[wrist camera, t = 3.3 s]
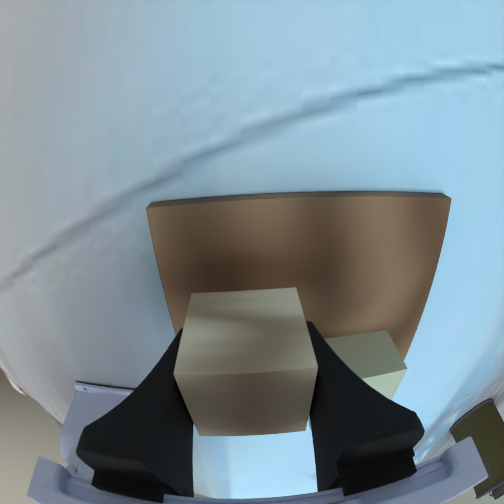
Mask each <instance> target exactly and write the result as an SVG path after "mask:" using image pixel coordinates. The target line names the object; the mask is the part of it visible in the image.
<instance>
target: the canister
mask: <svg viewBox="0 0 504 504" xmlns="http://www.w3.org/2000/svg"><path fill="white" fill-rule="evenodd" d="M450 433H452V435H453V437H454V439H455V442H456V443H458V442H460V441H462V440H464V439H466V438H468V437H472V439H473V441H474V444H475V446H476V448H477V450H478V453H479V455H480V457H481V460H482V462H483V464H484V467H485V469H486V472H487V474H488V477H487V478H486V479H485V480H483V481H482V482H480V483H479V484H477V485H476V486H474V490H475V493H476V496H477V497H476V499H478V498H480V497H482V496H484V495H486V494H487V493H489V494H490V492H491V491H492V495H490V496H493V497H494V499H497V498H499V497H500V496H502V495H504V422H503V419H502V418H501V416H500V414H499V412H498V410H497V408H496V407H495V405H494V400H493V399H488V400H485V401H483V402H482V403H480V404H478V405H477V406H475V407H474V408H473V409H471V410H470V411H469V412H467V413H466V414H465V415H463V416H462V417H461V418H460V419H459V420H458V421H457V422H456V423H455V424H454V425H453V426H452V427H451V429H450Z"/></svg>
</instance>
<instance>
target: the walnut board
mask: <svg viewBox="0 0 504 504" xmlns="http://www.w3.org/2000/svg"><path fill="white" fill-rule="evenodd" d="M450 204H451V198H450V197H448V196H446V195H444V194H442V193H419V192H377V191H337V192H293V193H268V194H249V195H232V196H218V197H205V198H193V199H182V200H171V201H161V202H152V203H150V205H149V206H148V207H147V208H146V211H147V216H148V222H149V227H150V232H151V237H152V242H153V247H154V251H155V256H156V260H157V265H158V269H159V273H160V278H161V282H162V286H163V290H164V294H165V298H166V302H167V305H168V309H169V313H170V316H171V320H172V324H173V327H174V331H175V334H176V335H177V333H178V332H179V330H180V329H181V328H183V327H184V323H185V319H186V314H187V310H188V306H189V302H190V297H191V293H210V292H230V291H248V290H264V289H279V288H293V287H296V289H297V293H298V296H299V300H300V303H301V307H302V310H303V314H304V317H305V321H311V322H313V324H314V325H315V327H316V328H317V330H318V331H319V333H320V334H321V335H322V337H323V338H324V339H325V338H333V337H341V336H348V335H356V334H362V333H369V332H375V331H381V330H387V331H388V333H389V335H390V337H391V339H392V341H393V342H394V344H395V346H396V348H397V350H398V352H399V354H400V356H401V357H402V359H403V361H404V359H405V357H406V354H407V352H408V350H409V347H410V345H411V342H412V340H413V337H414V335H415V332H416V330H417V327H418V324H419V322H420V319H421V316H422V313H423V310H424V307H425V304H426V301H427V298H428V295H429V292H430V289H431V286H432V282H433V279H434V275H435V272H436V268H437V264H438V261H439V257H440V253H441V249H442V244H443V240H444V236H445V231H446V226H447V221H448V216H449V210H450Z"/></svg>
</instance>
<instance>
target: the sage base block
mask: <svg viewBox="0 0 504 504" xmlns="http://www.w3.org/2000/svg"><path fill="white" fill-rule="evenodd" d="M325 341H326V342H327V343H328V345H329V346H330V347H331V348H332V349H333V351H334V352H335V353H336V354H337V355H338V356H339V357H340V359H341V360H342V361H343V362H344V363H345V364H346V365H347V366H348V367H349V368H350V369H351V370H352V371H353V372H354V373H355V374H356V375H358V376H359V377H360V378H361V379H362V380H363V381H365V382H366V383H367V384H368V385H369V386H371V387H372V388H374V389H375V390H376V391H378V392H379V393H381V394H382V395H384V396H385V397H387V398H388V399H390V400H392V398H393V396H394V394H395V392H396V390H397V388H398V386H399V384H400V383H401V381H402V379H403V377H404V375H405V372H406V370H407V367H406V365H405V363H404V361H403V359H402V357H401V356H400V354H399V352H398V350H397V348H396V346H395V344H394V342H393V341H392V339H391V337H390V335H389V333H388V331H387V330H381V331H375V332H369V333H362V334H356V335H348V336H341V337H333V338H325ZM308 420H309V426H310V429H311V423H310V417H309V416H308Z"/></svg>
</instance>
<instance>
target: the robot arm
mask: <svg viewBox="0 0 504 504" xmlns="http://www.w3.org/2000/svg"><path fill="white" fill-rule="evenodd" d="M306 325H307V328H308V332H309V335H310V339H311V343H312V346H313V350H314V354H315V358H316V361H317V365H318V370H317V376H316V381H315V386H314V392H313V397H312V402H311V407H310V412H309V417H310V423H311V430H312V437H313V445H314V454H315V464H316V475H317V488H318V492H315V493H308V494H301V495H293V496H284V497H272V498H255V499H211V498H195V497H194V491H193V464H192V452H193V424H194V422H193V420H192V418H191V416H190V413H189V411H188V409H187V406H186V404H185V402H184V399H183V397H182V394H181V392H180V389H179V387H178V384H177V382H176V379H175V377H174V369H175V364H176V360H177V355H178V350H179V346H180V341H181V336H182V332H183V328H181V329H180V330H179V332H178V333H177V335H176V336H175V338H174V340H173V341H172V343H171V344H170V346H169V347H168V349H167V350H166V352H165V353H164V355H163V356H162V358H161V359H160V360H159V362H158V363H157V364H156V366H155V367H154V368H153V369H152V371H151V372H150V373H149V375H148V376H147V377H146V378H145V379H144V380H143V381H142V383H141V384H140V385H139V386H138V387H137V388H136V389H135V390H127V389H118V388H110V387H103V386H96V385H90V384H83V383H78V382H76V383H75V384H74V387H75V389H76V390H77V392H76V394H75V396H74V399H73V401H72V404H71V406H70V409H69V411H68V414H67V416H66V419H65V421H64V424H63V427H62V429H61V433H60V439H59V446H60V452H61V455H62V457H63V459H64V460H65V462H66V463H67V464H68V467H63V466H62V465H60V464H58V463H56V462H53V461H50V460H48V459H45V458H43V457H41V456H39V457H38V460H37V463H36V466H35V469H34V472H33V475H32V479H31V482H30V485H29V489H28V493H27V497H28V498H29V499H31V500H33V501H35V502H37V503H39V504H444V503H446V502H448V501H450V500H452V499H454V498H456V497H457V496H459V495H461V494H463V493H464V492H466V491H468V490H469V489H471V488H472V487H474V486H476V485H477V484H479V483H480V482H482V481H483V480H485V479H486V478H487V477H488V474H487V472H486V469H485V467H484V464H483V462H482V460H481V457H480V455H479V453H478V450H477V448H476V446H475V444H474V441H473V439H472V437H468V438H466V439H464V440H462V441H460V442H458V443H456V444H454V445H452V446H450V447H449V448H447V449H446V450H445V451H444V452H443V453H442V454H441V455H440V456H437V457H435V458H433V459H430V460H428V461H426V462H423V463H421V464H418V465H416V466H415V464H414V461H413V458H412V457H414V456H415V453H414V451H413V447H414V446H415V445H416V444H417V443H418V442H419V441H420V440H421V438H422V437H423V435H424V432H425V430H424V428H423V426H422V423H421V421H420V419H419V418H418V416H417V414H416V413H415V412H413V411H411V410H409V409H407V408H405V407H403V406H401V405H399V404H397V403H395V402H393V401H392V400H390V399H388V398H387V397H385V396H384V395H382V394H381V393H379V392H378V391H376V390H375V389H374V388H372V387H371V386H369V385H368V384H367V383H366V382H365V381H363V380H362V379H361V378H360V377H359V376H358V375H356V374H355V373H354V372H353V371H352V370H351V369H350V368H349V367H348V366H347V365H346V364H345V363H344V362H343V361H342V360H341V359H340V357H339V356H338V355H337V354H336V353H335V352H334V351H333V349H332V348H331V347H330V346H329V345H328V343H327V342H326V341H325V339H324V338H323V337H322V335H321V334H320V333H319V331H318V330H317V328H316V327H315V325H314V324H313V322H311V321H306Z"/></svg>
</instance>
